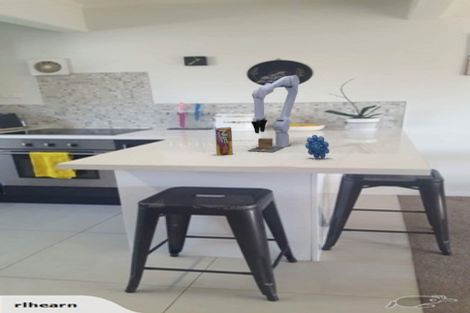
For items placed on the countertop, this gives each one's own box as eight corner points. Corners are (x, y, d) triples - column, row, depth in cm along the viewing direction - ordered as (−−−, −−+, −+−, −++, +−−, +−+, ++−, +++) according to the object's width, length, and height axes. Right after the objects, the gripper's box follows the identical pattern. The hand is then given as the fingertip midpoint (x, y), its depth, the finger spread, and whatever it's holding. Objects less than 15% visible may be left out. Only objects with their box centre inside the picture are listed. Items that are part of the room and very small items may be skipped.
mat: (259, 147, 209) (259, 146, 209) (283, 148, 201) (283, 147, 201) (247, 151, 195) (247, 150, 195) (272, 152, 187) (272, 151, 187)
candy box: (231, 153, 191) (230, 126, 188) (233, 154, 187) (231, 127, 184) (216, 154, 189) (214, 127, 186) (217, 155, 185) (215, 128, 182)
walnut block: (259, 148, 201) (259, 138, 199) (272, 148, 198) (272, 138, 197) (258, 149, 197) (258, 139, 196) (271, 149, 195) (271, 139, 194)
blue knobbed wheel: (304, 160, 163) (304, 135, 161) (305, 157, 170) (305, 134, 168) (328, 160, 160) (329, 135, 158) (329, 157, 166) (329, 134, 164)
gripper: (260, 110, 188) (261, 134, 190) (270, 108, 200) (270, 131, 203) (249, 110, 191) (249, 133, 194) (259, 109, 204) (260, 131, 206)
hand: (259, 132), depth 198 cm, fingers open, 7 cm apart
